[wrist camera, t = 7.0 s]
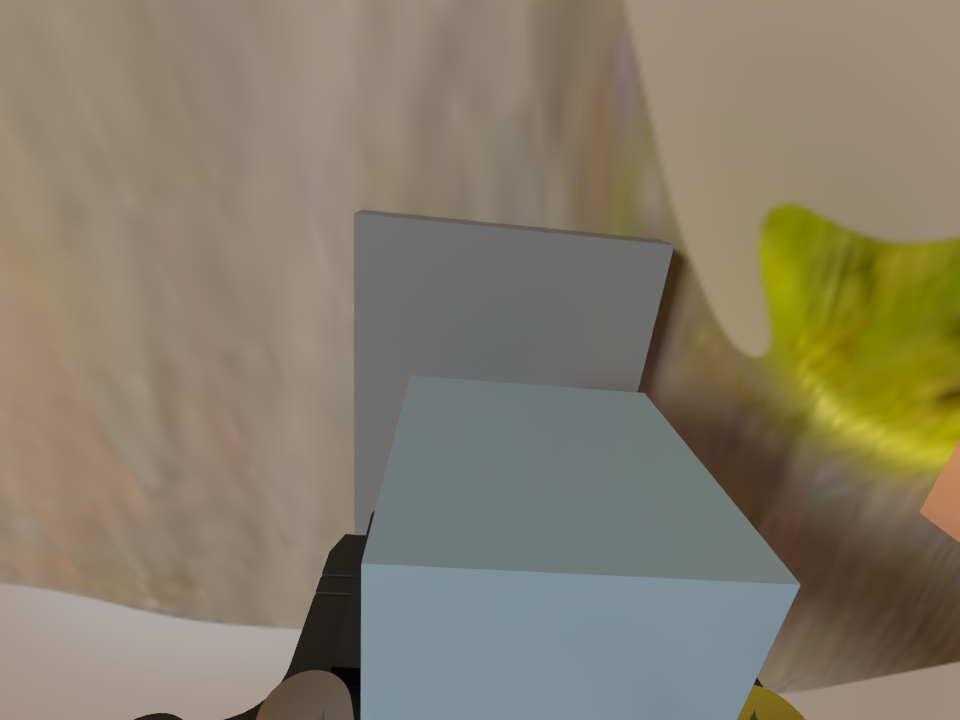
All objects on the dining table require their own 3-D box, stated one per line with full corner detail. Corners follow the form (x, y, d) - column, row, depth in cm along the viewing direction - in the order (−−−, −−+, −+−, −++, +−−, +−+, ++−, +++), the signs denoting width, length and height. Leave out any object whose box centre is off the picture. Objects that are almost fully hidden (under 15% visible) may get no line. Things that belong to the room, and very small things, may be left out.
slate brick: (644, 393, 10) (800, 585, 5) (578, 651, 13) (642, 918, 8) (410, 374, 10) (361, 563, 5) (397, 644, 13) (359, 918, 8)
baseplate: (659, 239, 16) (674, 245, 15) (588, 538, 21) (595, 559, 20) (362, 210, 15) (354, 213, 14) (360, 525, 20) (354, 546, 19)
